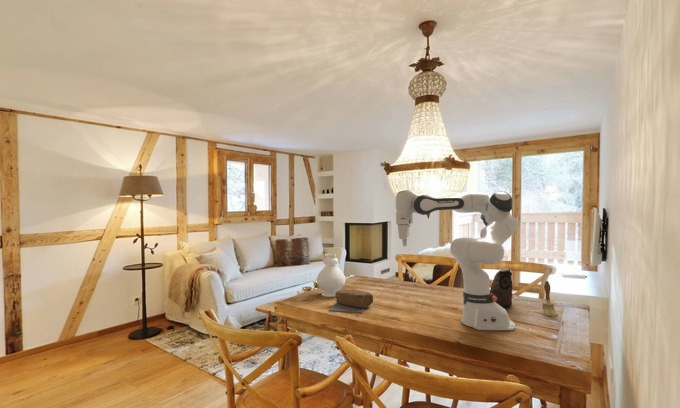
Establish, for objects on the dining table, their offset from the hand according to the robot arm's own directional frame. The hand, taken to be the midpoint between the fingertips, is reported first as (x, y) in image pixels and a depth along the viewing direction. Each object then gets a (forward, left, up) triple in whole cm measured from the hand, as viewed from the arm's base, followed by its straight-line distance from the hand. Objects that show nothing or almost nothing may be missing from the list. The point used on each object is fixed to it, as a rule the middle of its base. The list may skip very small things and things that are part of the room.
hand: (404, 245), depth 184 cm
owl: (-49, -15, -33) cm, 61 cm away
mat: (+30, +6, -33) cm, 45 cm away
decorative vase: (+48, -18, -33) cm, 61 cm away
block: (+19, +7, -28) cm, 35 cm away
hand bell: (-69, -4, -33) cm, 77 cm away
